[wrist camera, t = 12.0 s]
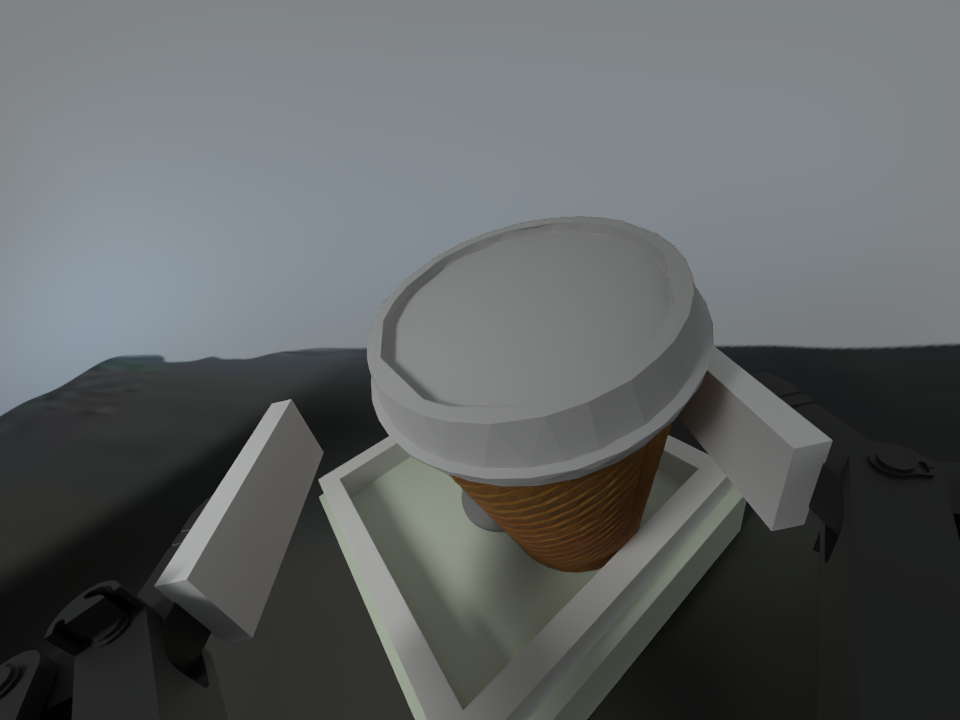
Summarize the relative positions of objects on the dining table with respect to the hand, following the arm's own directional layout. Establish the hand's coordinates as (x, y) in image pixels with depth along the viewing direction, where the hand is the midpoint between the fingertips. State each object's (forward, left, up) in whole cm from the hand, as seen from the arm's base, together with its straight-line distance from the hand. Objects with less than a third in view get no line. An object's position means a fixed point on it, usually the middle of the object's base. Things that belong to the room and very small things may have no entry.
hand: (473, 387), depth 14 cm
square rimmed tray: (-2, +1, -11) cm, 11 cm away
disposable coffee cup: (+1, +3, -8) cm, 8 cm away
